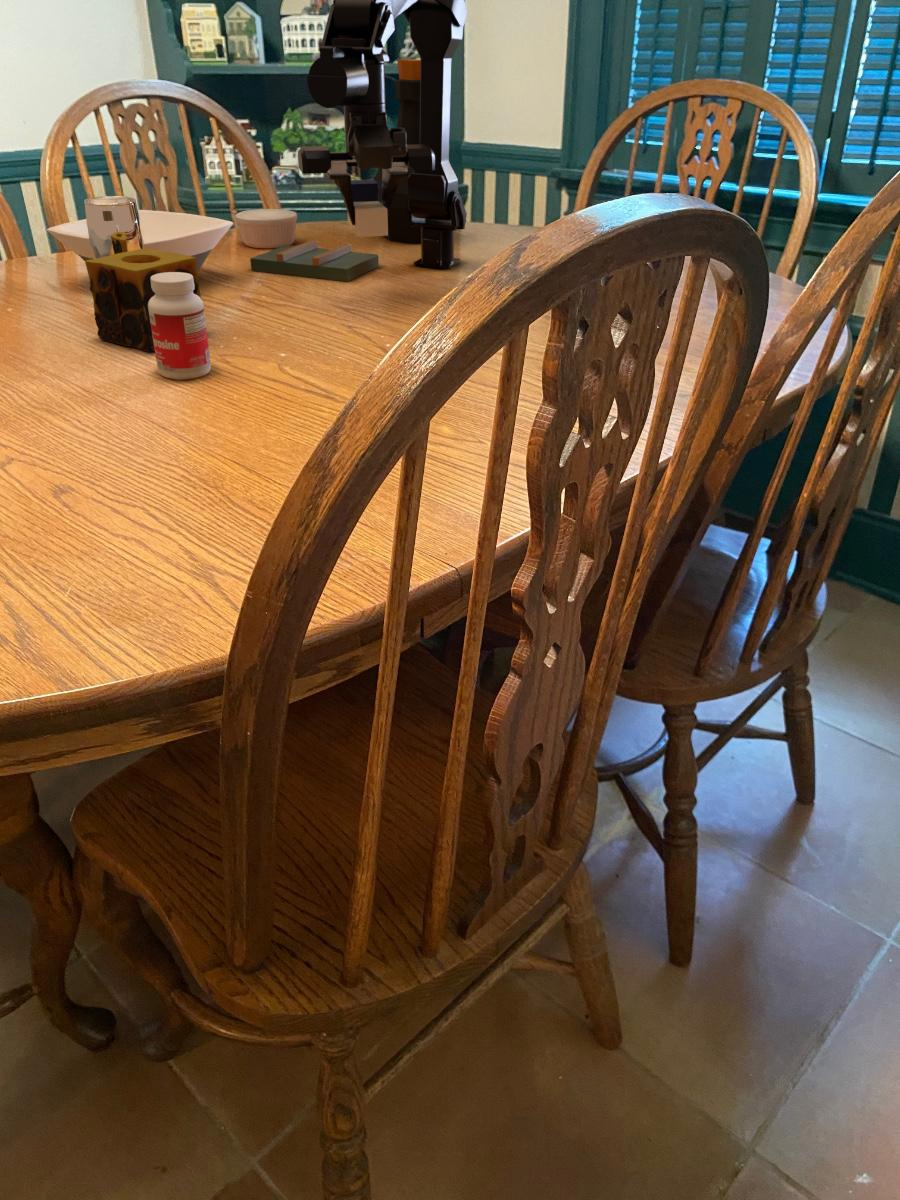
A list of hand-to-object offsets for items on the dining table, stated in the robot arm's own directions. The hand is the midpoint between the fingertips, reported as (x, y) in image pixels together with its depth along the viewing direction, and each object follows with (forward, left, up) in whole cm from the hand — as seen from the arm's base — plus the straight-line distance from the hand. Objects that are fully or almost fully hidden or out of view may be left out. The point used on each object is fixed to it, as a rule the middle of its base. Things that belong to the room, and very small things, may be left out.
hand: (368, 224), depth 132 cm
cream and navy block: (-1, -1, -1) cm, 2 cm away
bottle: (-46, -13, -11) cm, 49 cm away
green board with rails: (-14, -17, -11) cm, 24 cm away
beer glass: (+22, -28, -11) cm, 37 cm away
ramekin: (-28, -35, -11) cm, 46 cm away
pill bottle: (+40, -6, -11) cm, 42 cm away
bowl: (+5, -37, -11) cm, 38 cm away
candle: (+30, -18, -11) cm, 36 cm away
